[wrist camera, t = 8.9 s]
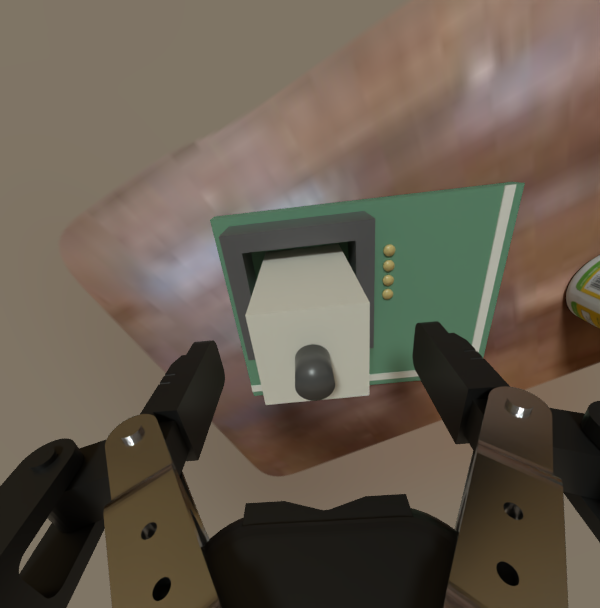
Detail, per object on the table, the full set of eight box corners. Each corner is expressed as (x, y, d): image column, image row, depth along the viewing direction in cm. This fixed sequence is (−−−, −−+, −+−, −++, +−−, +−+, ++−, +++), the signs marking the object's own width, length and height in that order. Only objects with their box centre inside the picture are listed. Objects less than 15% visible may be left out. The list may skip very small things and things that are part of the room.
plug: (338, 243, 17) (381, 324, 9) (342, 320, 20) (377, 441, 11) (265, 251, 17) (238, 338, 9) (278, 327, 20) (266, 451, 11)
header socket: (396, 207, 16) (412, 214, 14) (390, 339, 20) (401, 361, 18) (228, 226, 16) (218, 236, 14) (256, 352, 21) (252, 376, 18)
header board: (512, 182, 17) (525, 183, 16) (471, 366, 23) (479, 375, 22) (214, 216, 17) (209, 220, 16) (255, 386, 24) (253, 396, 23)
